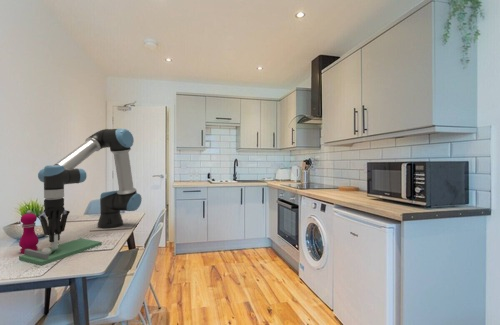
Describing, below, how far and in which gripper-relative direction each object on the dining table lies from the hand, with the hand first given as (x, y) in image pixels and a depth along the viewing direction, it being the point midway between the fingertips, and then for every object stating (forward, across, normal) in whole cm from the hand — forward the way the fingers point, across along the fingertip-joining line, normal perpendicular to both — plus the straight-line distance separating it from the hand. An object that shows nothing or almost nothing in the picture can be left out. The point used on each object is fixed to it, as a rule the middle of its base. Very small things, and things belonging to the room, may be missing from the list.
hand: (54, 248), depth 121 cm
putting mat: (+3, -4, 0) cm, 5 cm away
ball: (+1, +3, 0) cm, 4 cm away
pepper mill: (+3, +2, -16) cm, 16 cm away
